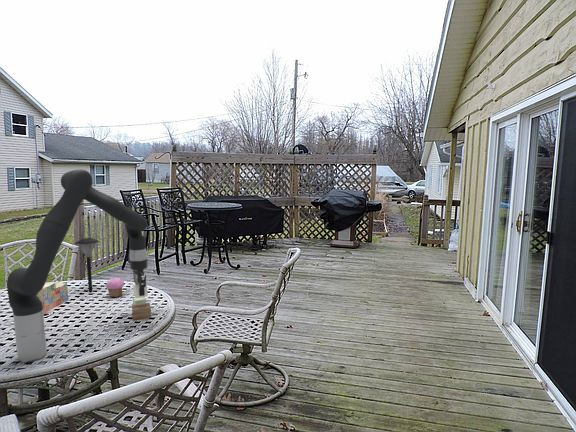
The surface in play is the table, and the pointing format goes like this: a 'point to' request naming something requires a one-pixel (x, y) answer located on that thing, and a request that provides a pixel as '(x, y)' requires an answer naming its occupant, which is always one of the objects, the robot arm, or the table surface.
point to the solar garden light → (88, 255)
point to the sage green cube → (139, 300)
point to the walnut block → (141, 311)
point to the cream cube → (136, 291)
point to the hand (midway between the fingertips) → (140, 293)
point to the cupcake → (115, 287)
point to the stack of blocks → (53, 295)
